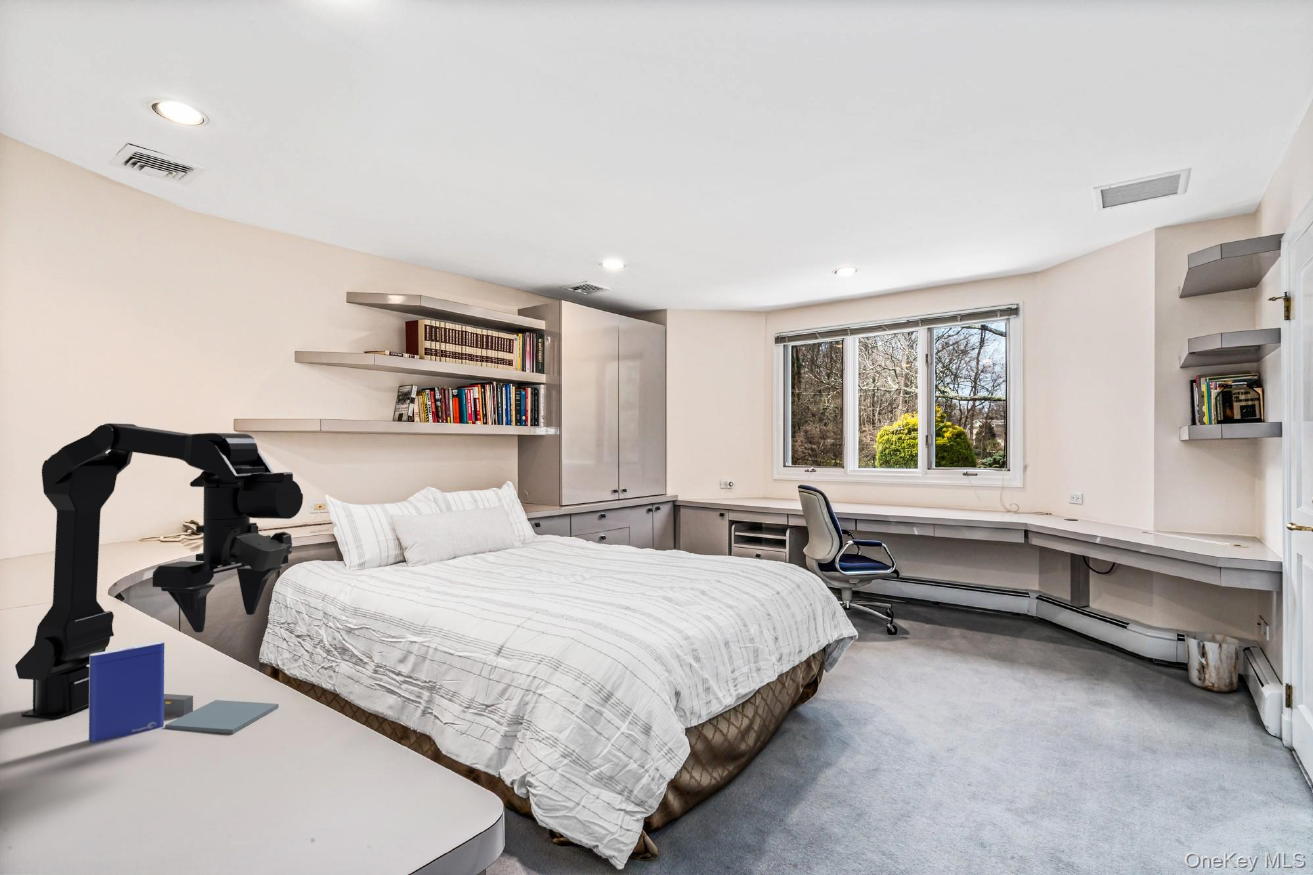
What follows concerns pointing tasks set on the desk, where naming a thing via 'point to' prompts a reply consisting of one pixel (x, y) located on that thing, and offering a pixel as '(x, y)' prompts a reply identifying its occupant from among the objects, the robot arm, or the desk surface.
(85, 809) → the desk surface
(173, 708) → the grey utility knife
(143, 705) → the hard drive
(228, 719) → the mat
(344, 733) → the desk surface
